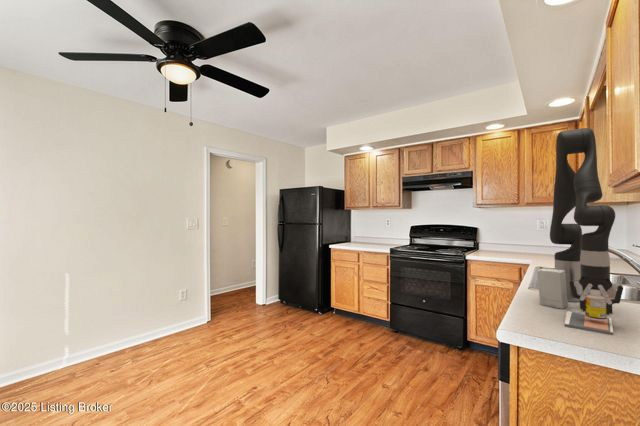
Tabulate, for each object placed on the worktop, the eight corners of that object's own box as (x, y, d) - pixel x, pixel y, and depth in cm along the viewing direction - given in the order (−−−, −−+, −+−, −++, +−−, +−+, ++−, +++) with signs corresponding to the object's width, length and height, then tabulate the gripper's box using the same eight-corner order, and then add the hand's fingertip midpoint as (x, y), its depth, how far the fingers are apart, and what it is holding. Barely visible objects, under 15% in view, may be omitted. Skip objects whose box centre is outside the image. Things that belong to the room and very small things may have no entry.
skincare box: (568, 306, 124) (567, 270, 124) (562, 309, 121) (561, 272, 121) (544, 301, 131) (543, 267, 131) (538, 304, 128) (537, 269, 128)
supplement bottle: (586, 314, 108) (586, 286, 108) (608, 318, 104) (607, 288, 104) (583, 318, 105) (583, 289, 105) (605, 322, 101) (605, 292, 101)
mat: (564, 326, 104) (564, 323, 104) (567, 313, 116) (567, 311, 116) (613, 335, 96) (613, 332, 96) (611, 320, 108) (611, 318, 108)
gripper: (623, 264, 102) (624, 314, 103) (568, 260, 112) (569, 306, 112) (625, 267, 97) (626, 320, 97) (567, 263, 107) (568, 311, 107)
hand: (595, 312), depth 105 cm, fingers closed on supplement bottle, 5 cm apart
